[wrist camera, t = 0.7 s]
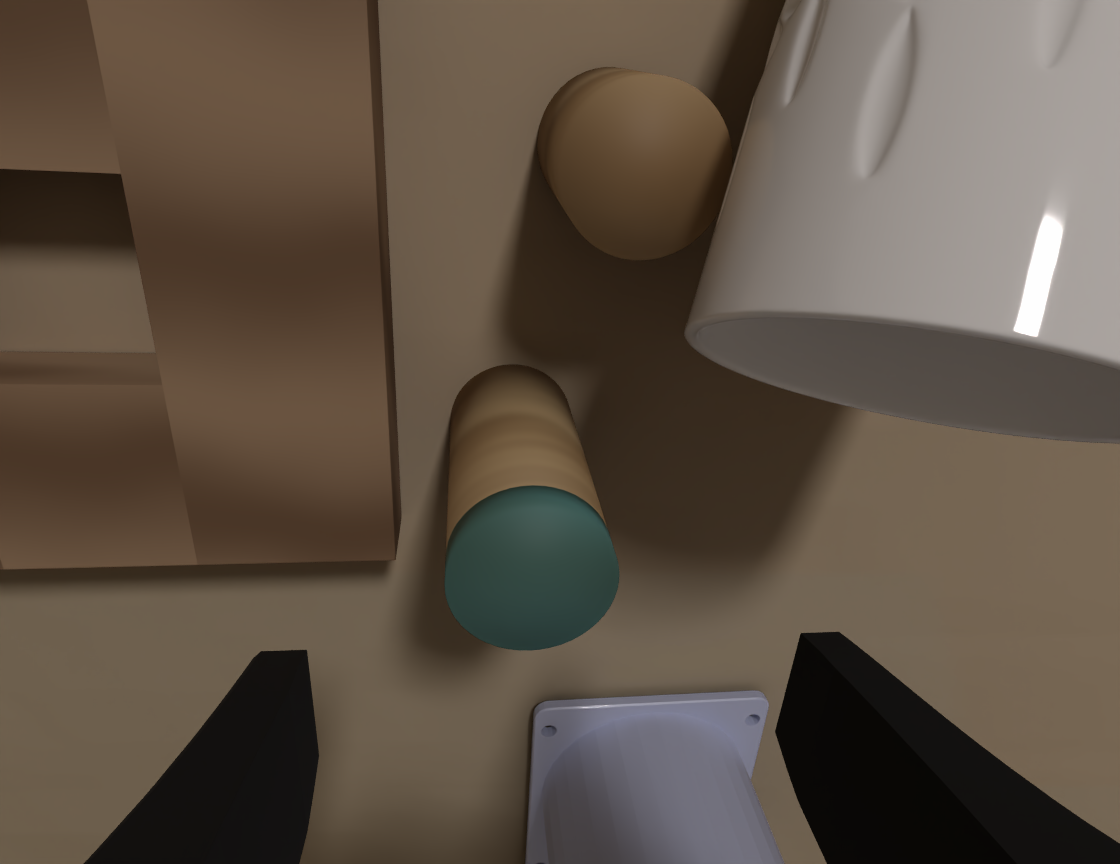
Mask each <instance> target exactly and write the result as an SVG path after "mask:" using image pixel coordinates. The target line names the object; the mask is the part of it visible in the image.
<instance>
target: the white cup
mask: <svg viewBox="0 0 1120 864" xmlns="http://www.w3.org/2000/svg"><path fill="white" fill-rule="evenodd" d="M684 335H685V338H686V340H687V342H688V343H689V344H690V346H691V347H692V348H694V349H695V350H696V351H697V352H699V353H700V354H701V355H703V356H704V357H706V358H708V359H709V360H711V361H713V362H715V363H717V364H719V365H721V366H723V367H725V368H727V369H730V370H732V371H734V372H737V373H739V374H742V375H744V376H747V377H749V378H752V379H755V380H758V381H761V382H763V383H766V384H769V385H772V386H775V387H779V388H782V389H785V390H788V391H792V392H795V393H799V394H802V395H806V396H809V397H813V398H817V399H820V400H824V401H828V402H832V403H836V404H840V405H844V406H848V407H853V408H857V409H861V410H866V411H870V412H875V413H880V414H885V415H889V416H894V417H899V418H904V419H910V420H915V421H920V422H926V423H932V424H937V425H943V426H949V427H956V428H962V429H968V430H975V431H982V432H989V433H997V434H1005V435H1013V436H1021V437H1030V438H1040V439H1050V440H1062V441H1075V442H1090V443H1114V444H1120V0H786V1H785V4H784V6H783V9H782V11H781V13H780V17H779V20H778V23H777V26H776V30H775V33H774V36H773V40H772V43H771V47H770V50H769V54H768V58H767V62H766V66H765V70H764V73H763V75H762V78H761V80H760V82H759V85H758V87H757V90H756V91H755V94H754V97H753V100H752V103H751V107H750V110H749V113H748V117H747V120H746V124H745V127H744V131H743V134H742V138H741V141H740V145H739V148H738V152H737V155H736V158H735V162H734V165H733V169H732V172H731V175H730V179H729V182H728V186H727V189H726V193H725V196H724V199H723V203H722V206H721V210H720V213H719V216H718V220H717V223H716V227H715V230H714V233H713V237H712V240H711V244H710V247H709V250H708V254H707V257H706V260H705V264H704V267H703V271H702V274H701V277H700V281H699V284H698V287H697V291H696V294H695V297H694V301H693V304H692V307H691V311H690V314H689V317H688V320H687V324H686V327H685V331H684Z"/></svg>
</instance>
